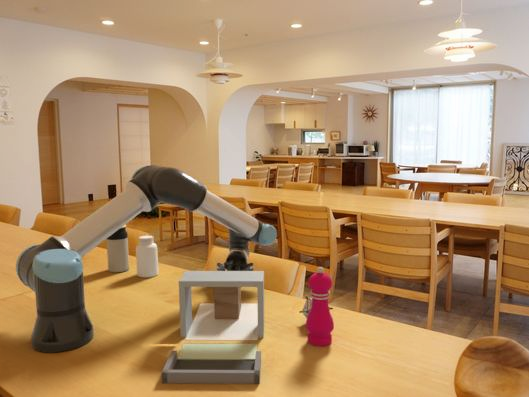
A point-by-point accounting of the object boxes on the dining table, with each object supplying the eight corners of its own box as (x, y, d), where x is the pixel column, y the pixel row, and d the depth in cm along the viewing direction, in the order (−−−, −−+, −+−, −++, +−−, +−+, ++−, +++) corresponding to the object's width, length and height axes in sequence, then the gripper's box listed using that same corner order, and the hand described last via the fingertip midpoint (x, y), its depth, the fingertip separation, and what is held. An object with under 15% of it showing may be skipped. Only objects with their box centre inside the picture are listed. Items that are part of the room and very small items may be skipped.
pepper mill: (315, 349, 117) (316, 272, 114) (300, 338, 124) (300, 265, 121) (339, 343, 120) (340, 268, 118) (323, 332, 127) (324, 261, 124)
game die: (321, 338, 132) (331, 319, 125) (293, 325, 133) (301, 306, 127) (329, 313, 139) (339, 294, 132) (302, 301, 140) (311, 282, 133)
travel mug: (133, 269, 187) (131, 225, 185) (117, 274, 181) (115, 228, 178) (120, 266, 192) (117, 223, 189) (104, 270, 185) (101, 226, 182)
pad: (186, 338, 124) (186, 336, 124) (257, 338, 123) (257, 337, 123) (177, 360, 112) (177, 358, 112) (256, 361, 112) (255, 359, 111)
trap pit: (172, 360, 112) (171, 350, 112) (261, 360, 112) (260, 351, 111) (162, 383, 102) (161, 372, 102) (259, 383, 101) (259, 373, 101)
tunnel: (196, 305, 148) (194, 256, 145) (265, 305, 147) (265, 256, 145) (179, 341, 122) (177, 283, 120) (263, 342, 121) (262, 283, 119)
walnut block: (218, 307, 144) (217, 273, 142) (241, 307, 144) (240, 273, 142) (214, 319, 135) (213, 282, 134) (238, 319, 135) (238, 282, 133)
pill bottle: (132, 276, 177) (130, 238, 175) (145, 270, 185) (144, 233, 182) (150, 279, 174) (148, 239, 172) (162, 273, 182) (161, 235, 180)
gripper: (254, 270, 170) (251, 293, 147) (219, 270, 170) (210, 293, 147) (254, 250, 169) (251, 270, 146) (218, 250, 169) (209, 270, 146)
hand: (230, 281), depth 146 cm, fingers closed
